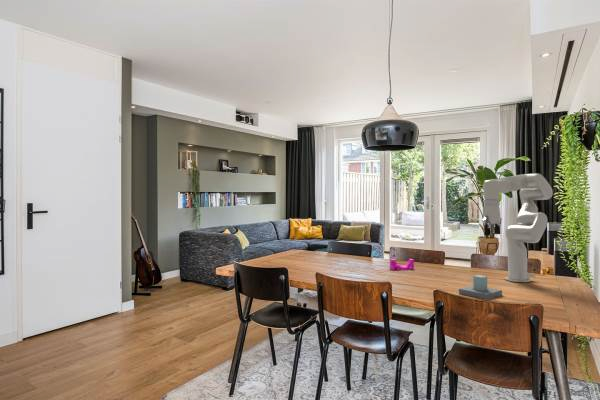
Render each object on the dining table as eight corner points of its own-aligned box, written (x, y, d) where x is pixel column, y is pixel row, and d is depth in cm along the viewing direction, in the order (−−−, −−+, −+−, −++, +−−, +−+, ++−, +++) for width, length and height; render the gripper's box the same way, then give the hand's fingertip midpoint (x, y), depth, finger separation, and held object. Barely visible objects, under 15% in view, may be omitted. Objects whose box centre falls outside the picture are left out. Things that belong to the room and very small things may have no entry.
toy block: (392, 272, 244) (392, 260, 244) (390, 270, 250) (389, 259, 250) (415, 271, 244) (415, 260, 245) (412, 270, 251) (411, 258, 251)
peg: (478, 293, 186) (478, 275, 186) (487, 294, 182) (487, 276, 182) (473, 294, 184) (473, 276, 184) (482, 296, 180) (482, 277, 180)
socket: (474, 289, 193) (474, 285, 193) (502, 295, 181) (502, 290, 181) (458, 293, 185) (458, 288, 185) (486, 299, 173) (486, 294, 173)
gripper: (493, 202, 208) (494, 233, 208) (476, 203, 198) (476, 235, 198) (507, 202, 201) (507, 234, 202) (489, 203, 192) (490, 236, 192)
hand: (492, 234), depth 200 cm, fingers open, 9 cm apart
